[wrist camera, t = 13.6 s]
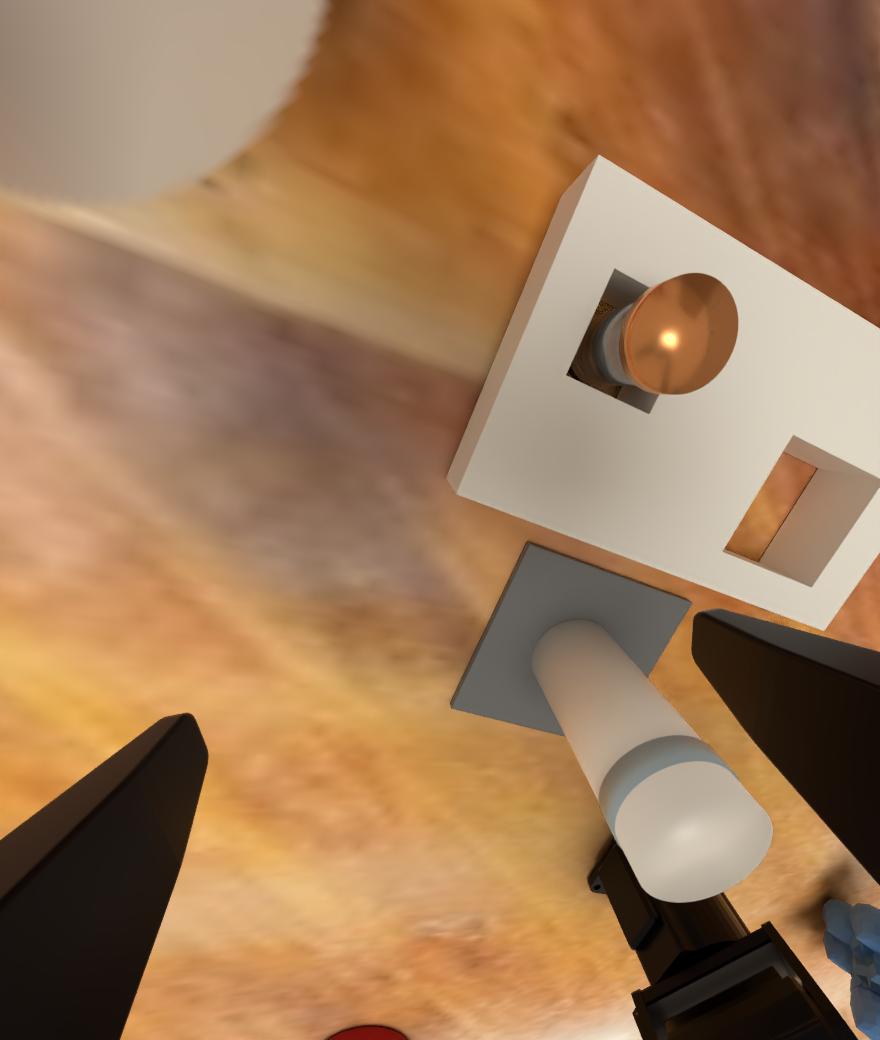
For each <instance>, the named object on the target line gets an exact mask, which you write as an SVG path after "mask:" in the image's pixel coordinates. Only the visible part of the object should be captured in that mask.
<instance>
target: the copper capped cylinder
mask: <svg viewBox="0 0 880 1040" xmlns="http://www.w3.org/2000/svg"><path fill="white" fill-rule="evenodd" d="M738 322H739V320H738V312H737V307H736V304H735V301H734V298H733V297H732V295H731V293H730V291H729V290H728V289H727V287H726V286H725V285H724V284H723V283H722V282H720V281H719V280H718V279H716V278H714V277H712V276H710V275H707V274H703V273H687V274H682V275H679V276H677V277H674V278H671V279H669V280H666V281H663V282H661V283H658V284H656V285H654V286H652V287H651V288H649V289H648V290H646V291H645V292H644V293H643V294H642V295H641V296H639V298H638V299H637V300H636V301H635V302H634V303H631V304H629V305H626V306H623V307H620V308H617V309H614V310H611V311H608V312H605V313H603V314H600V315H597V316H594V317H592V319H591V321H590V323H589V326H588V328H587V330H586V332H585V334H584V337H583V339H582V341H581V343H580V345H579V348H578V350H577V352H576V354H575V356H574V359H573V361H572V363H571V367H572V369H573V371H574V373H575V374H576V376H577V377H578V378H579V379H580V380H582V381H583V382H585V383H587V384H589V385H594V386H617V385H636V386H637V387H638V388H640V389H642V390H643V391H646V392H648V393H653V394H665V395H680V394H687V393H691V392H693V391H696V390H698V389H700V388H702V387H704V386H705V385H707V384H708V383H710V382H711V381H712V380H713V379H714V378H715V377H716V376H717V375H718V374H719V373H720V372H721V371H722V369H723V368H724V367H725V365H726V364H727V362H728V360H729V358H730V356H731V354H732V352H733V350H734V347H735V344H736V340H737V335H738Z"/></svg>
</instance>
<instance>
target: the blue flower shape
mask: <svg viewBox="0 0 880 1040" xmlns="http://www.w3.org/2000/svg"><path fill="white" fill-rule="evenodd" d="M823 916H824V921H825V925H826V928H827V929H826V930H825V931H824V940H823V941H824V945H825V950H826V953H827V957H828V958H829V959H830V960H831V961H832V962H834V963H835V964H836V965H838V966H839V967H840V968H841V969H843V970H844V971H846V972H848V973H849V974H851V977H852V979H851V986H850V992H851V999H850V1006H851V1010H852V1014H853V1018H854V1021H855V1025H856V1027H857V1028H858V1029H859V1030H860V1031H862V1032H863V1033H864V1034H865V1035H867V1036H868V1037H869V1038H870V1039H872V1040H880V909H878V908H876V907H873V906H871V905H869V904H859V903H858V904H856V905H855V906H854V907H853V906H852V905H850V904H848V903H846V902H843V901H841V900H835V899H830V900H828V901H827V902H826V903H825V904H824V907H823Z"/></svg>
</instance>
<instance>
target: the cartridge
mask: <svg viewBox="0 0 880 1040" xmlns="http://www.w3.org/2000/svg"><path fill="white" fill-rule="evenodd" d="M531 665H532V670H533V673H534V675H535V677H536V679H537V681H538V683H539V685H540V687H541V689H542V691H543V693H544V695H545V697H546V699H547V701H548V703H549V705H550V707H551V708H552V710H553V712H554V714H555V716H556V718H557V720H558V722H559V724H560V726H561V728H562V730H563V732H564V734H565V736H566V738H567V740H568V742H569V744H570V746H571V748H572V750H573V752H574V754H575V756H576V758H577V760H578V762H579V764H580V766H581V768H582V770H583V772H584V774H585V776H586V778H587V780H588V782H589V784H590V786H591V788H592V790H593V792H594V794H595V796H596V798H597V800H598V802H599V806H600V809H601V812H602V814H603V816H604V818H605V820H606V822H607V824H608V826H609V828H610V830H611V832H612V834H613V836H614V838H615V840H616V842H617V844H618V845H619V846H620V848H621V849H622V850H623V851H624V853H625V855H626V857H627V859H628V861H629V863H630V865H631V867H632V869H633V871H634V873H635V875H636V877H637V879H638V881H639V883H640V885H641V887H642V888H643V889H644V890H645V891H646V892H647V893H648V894H649V895H651V896H653V897H655V898H657V899H660V900H663V901H667V902H676V903H681V902H693V901H698V900H702V899H706V898H709V897H712V896H715V895H717V894H720V893H722V892H724V891H726V890H728V889H730V888H731V887H733V886H735V885H736V884H738V883H739V882H741V881H742V880H743V879H745V878H746V877H747V876H748V875H749V874H750V873H751V872H753V871H754V870H755V869H756V867H757V866H758V865H759V864H760V863H761V861H762V860H763V858H764V857H765V855H766V854H767V852H768V850H769V847H770V845H771V842H772V837H773V826H772V822H771V819H770V817H769V815H768V814H767V813H766V811H765V810H764V809H763V808H762V807H761V806H760V805H759V804H758V802H757V801H756V800H755V799H754V798H753V797H752V796H751V794H750V793H749V792H748V791H747V790H746V789H745V788H744V787H743V785H742V784H741V783H740V781H739V779H738V777H737V776H736V774H735V773H734V772H733V771H732V770H731V769H730V768H729V766H728V765H727V764H726V763H725V762H724V761H723V760H722V759H721V757H720V756H719V755H718V754H717V753H716V752H715V751H714V750H713V749H712V748H711V746H710V745H708V744H707V743H706V742H704V741H703V740H702V739H701V738H700V737H699V736H698V735H697V733H696V732H695V731H694V730H693V729H692V728H691V727H690V725H689V724H688V723H687V722H686V721H685V720H684V719H683V718H682V716H681V715H680V714H679V713H678V712H677V711H676V710H675V709H674V707H673V706H672V705H671V704H670V703H669V702H668V701H667V699H666V698H665V697H664V696H663V695H662V694H661V693H660V692H659V690H658V689H657V688H656V687H655V686H654V685H653V684H652V683H651V681H650V680H649V679H648V678H647V677H646V676H645V675H644V673H643V672H642V671H641V670H640V669H639V668H638V667H637V666H636V664H635V663H634V662H633V661H632V660H631V659H630V658H629V656H628V655H627V654H626V653H625V652H624V651H623V650H622V649H621V647H620V646H619V645H618V644H617V643H616V642H615V641H614V640H613V638H612V637H611V636H610V635H609V634H608V633H607V632H606V631H605V629H604V628H603V627H601V626H600V625H598V624H597V623H595V622H592V621H589V620H582V619H575V620H569V621H565V622H562V623H560V624H558V625H556V626H554V627H552V628H551V629H549V630H548V631H547V632H546V633H545V634H544V635H543V636H542V637H541V638H540V639H539V641H538V642H537V644H536V646H535V648H534V650H533V654H532V659H531Z"/></svg>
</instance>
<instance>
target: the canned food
mask: <svg viewBox="0 0 880 1040" xmlns="http://www.w3.org/2000/svg"><path fill="white" fill-rule="evenodd" d="M329 1040H406V1039H405V1037H404V1036H402V1035H401V1034H400V1033H398V1032H396V1031H394V1030H392V1029H389V1028H385V1027H377V1026H365V1027H358V1028H353V1029H350V1030H346V1031H344V1032H341V1033H339V1034H337V1035H335V1036H333V1037H331V1038H330V1039H329Z"/></svg>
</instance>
